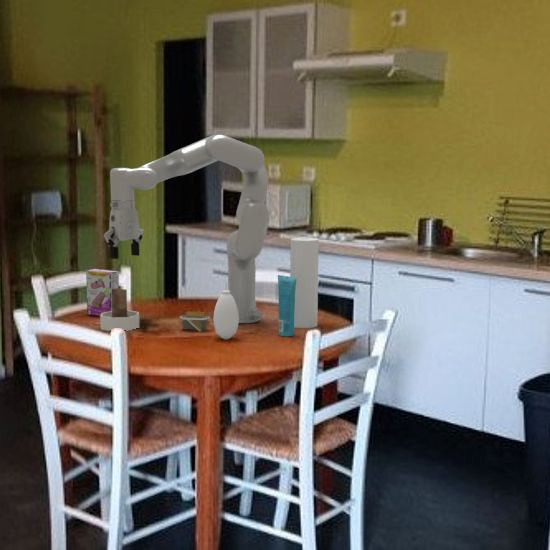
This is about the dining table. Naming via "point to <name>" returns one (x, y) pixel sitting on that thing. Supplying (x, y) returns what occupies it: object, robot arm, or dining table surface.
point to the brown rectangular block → (119, 302)
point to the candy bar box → (100, 290)
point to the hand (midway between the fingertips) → (125, 256)
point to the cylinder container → (305, 280)
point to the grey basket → (195, 321)
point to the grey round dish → (119, 321)
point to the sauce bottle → (226, 315)
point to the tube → (286, 304)
